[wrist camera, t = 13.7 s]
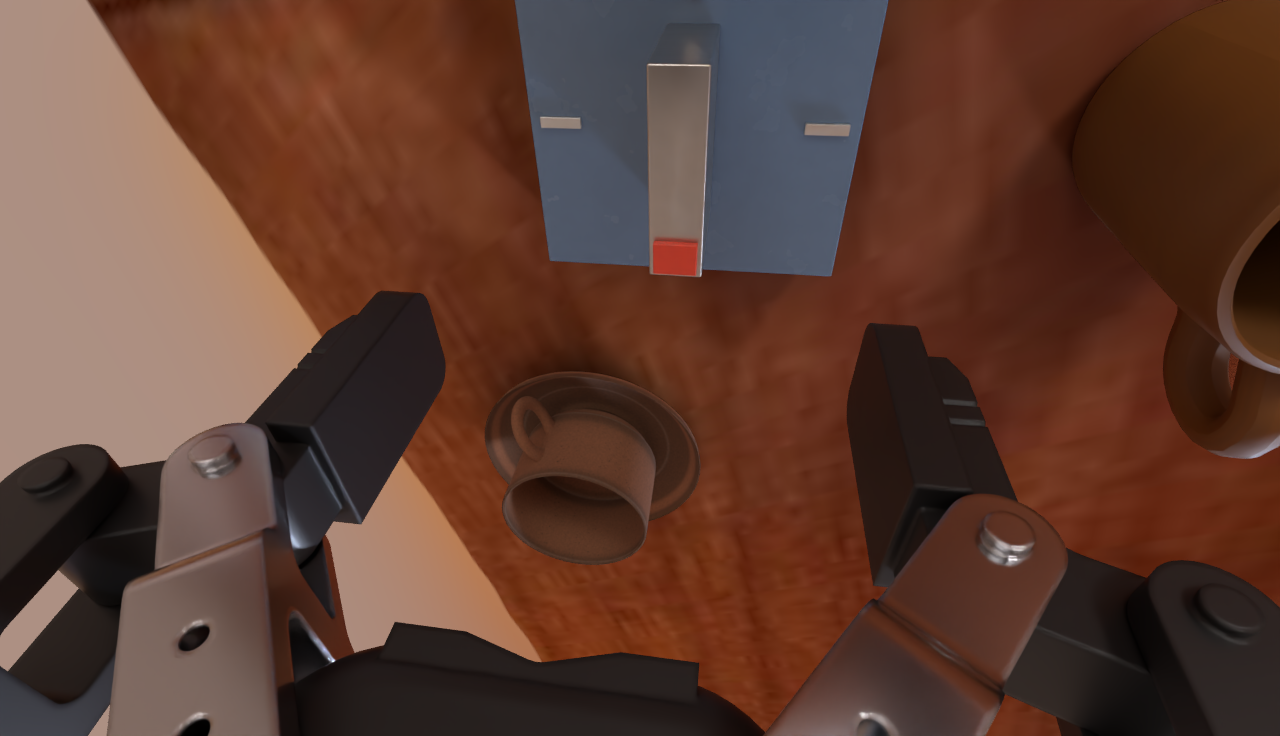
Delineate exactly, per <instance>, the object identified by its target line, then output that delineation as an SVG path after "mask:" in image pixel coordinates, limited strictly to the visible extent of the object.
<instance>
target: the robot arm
mask: <svg viewBox="0 0 1280 736" xmlns="http://www.w3.org/2000/svg"><path fill="white" fill-rule="evenodd" d="M311 350H312V352H311V353H307V355H306V356H305V357H304V358H303V359H302V360H301V361H300V362H299V363H298V368H297V369H296V368H294V369H293V370H292V371H291V372H290V373H289V375H288V376H287V377H286V378H285V379H284V380H283V381H282V382H281V383H280V385H279V386H278V387H277V388H276V389H275V390H274V391H273V392H272V393H271V395H270V396H269V397H268V398H267V399H266V400H265V401H264V402H263V403H262V405H261V406H260V407H259V408H258V409H257V410H256V411H255V412H254V414H253V415H252V416H251V417H250V418H249V419H248V420H247V421H246V422H245V423H231V424H225V425H221V426H218V427H214V428H211V429H209V430H206V431H204V432H202V433H200V434H198V435H196V436H194V437H192V438H190V439H189V440H187V441H186V442H185V443H183V444H182V445H181V446H179V447H178V448H177V449H176V450H175V451H174V452H173V453H172V454H171V455H170V456H169V458H168V459H167V460H166V461H160V462H153V463H146V464H140V465H134V466H127V467H119V466H118V465H117V463H116V462H115V461H114V460H113V459H112V458H111V456H110V455H109V454H108V453H107V452H106V450H104V449H103V448H101V447H99V446H96V445H89V444H80V445H72V446H68V447H63V448H60V449H57V450H53V451H51V452H49V453H46V454H43V455H41V456H39V457H37V458H35V459H33V460H31V461H29V462H27V463H26V464H24V465H23V466H21V467H19V468H18V469H17V470H15V471H14V472H13V473H11V474H10V475H9V476H7V477H6V478H5V479H4V480H3V481H2V482H1V483H0V635H1V633H2V632H3V631H4V629H5V628H6V627H7V625H8V624H9V623H10V622H11V621H12V620H13V619H14V618H15V617H16V615H17V614H18V613H19V612H20V611H21V610H22V609H23V608H24V607H25V606H26V605H27V603H28V602H29V601H30V600H31V599H32V598H33V597H34V596H35V595H36V594H37V593H38V591H39V590H40V589H41V588H42V587H43V586H44V585H45V584H46V582H48V580H49V579H50V578H51V577H52V576H53V575H54V574H55V573H56V571H57V570H59V571H60V572H61V573H62V574H64V575H65V576H66V577H67V578H68V579H69V580H70V581H71V582H73V583H74V584H75V585H76V586H77V587H78V588H79V589H78V590H77V591H76V593H75V594H74V595H73V596H72V597H71V598H70V600H69V601H68V602H67V603H66V604H65V605H64V607H63V608H62V609H61V610H60V611H59V612H58V614H57V615H56V616H55V617H54V618H53V619H52V621H51V622H50V623H49V624H48V625H47V626H46V628H45V629H44V630H43V631H42V632H41V633H40V635H39V636H38V637H37V638H36V639H35V641H34V642H33V643H32V644H31V645H30V646H29V647H28V649H27V650H26V651H25V652H24V653H23V654H22V656H21V657H20V658H19V659H18V660H17V662H16V663H15V664H14V665H13V666H12V667H11V668H10V670H9V671H6V670H5V669H3V668H2V667H1V666H0V736H88V735H89V733H90V732H91V730H92V729H93V728H94V726H95V725H96V723H97V722H98V720H99V719H100V718H101V716H102V715H103V713H104V712H105V710H106V709H107V708H108V706H109V705H110V711H109V721H108V729H107V736H985V735H986V733H987V731H988V729H989V727H990V725H991V724H992V722H993V720H994V718H995V716H996V714H997V712H998V710H999V708H1000V706H1001V704H1002V701H1003V699H1004V696H1005V694H1006V695H1008V696H1011V697H1013V698H1015V699H1017V700H1020V701H1022V702H1024V703H1026V704H1029V705H1031V706H1033V707H1036V708H1038V709H1040V710H1042V711H1045V712H1047V713H1049V714H1051V715H1054V716H1056V718H1057V722H1058V725H1059V728H1060V732H1061V735H1062V736H1280V608H1279V607H1278V606H1277V605H1276V604H1275V603H1274V602H1273V601H1272V600H1271V599H1270V598H1268V597H1267V596H1266V595H1265V594H1263V593H1262V592H1261V591H1259V590H1258V589H1257V588H1255V587H1254V586H1252V585H1251V584H1249V583H1247V582H1246V581H1244V580H1243V579H1241V578H1239V577H1237V576H1235V575H1233V574H1231V573H1229V572H1227V571H1224V570H1222V569H1220V568H1217V567H1214V566H1211V565H1208V564H1204V563H1199V562H1194V561H1184V560H1180V561H1171V562H1167V563H1164V564H1162V565H1160V566H1158V567H1157V568H1156V569H1155V570H1154V571H1153V572H1152V573H1151V574H1150V575H1149V576H1148V577H1147V578H1145V577H1142V576H1139V575H1136V574H1134V573H1131V572H1128V571H1125V570H1122V569H1119V568H1116V567H1114V566H1111V565H1108V564H1105V563H1102V562H1099V561H1096V560H1094V559H1091V558H1088V557H1085V556H1083V555H1080V554H1078V553H1075V552H1073V551H1071V550H1070V549H1068V548H1066V547H1065V544H1064V542H1063V540H1062V539H1061V537H1060V535H1059V534H1058V532H1057V531H1056V530H1055V529H1054V527H1053V526H1052V525H1051V524H1050V523H1049V522H1048V521H1047V520H1046V519H1045V518H1043V517H1042V516H1041V515H1039V514H1038V513H1037V512H1035V511H1034V510H1032V509H1031V508H1029V507H1027V506H1026V505H1024V504H1021V503H1019V502H1018V501H1017V498H1016V496H1015V493H1014V491H1013V488H1012V486H1011V483H1010V481H1009V479H1008V476H1007V474H1006V471H1005V469H1004V466H1003V464H1002V461H1001V459H1000V456H999V454H998V451H997V449H996V447H995V444H994V442H993V439H992V437H991V434H990V432H989V429H988V427H985V419H984V417H983V415H982V412H981V410H980V407H977V403H978V402H977V400H976V397H975V395H974V392H973V390H972V388H971V385H970V383H969V380H968V379H967V378H966V377H965V376H964V375H963V374H962V373H961V372H960V371H959V370H958V369H957V368H956V367H955V366H954V365H953V364H952V363H951V362H950V361H949V360H948V359H947V358H942V357H928V355H927V352H926V349H925V347H924V344H923V341H922V338H921V335H920V332H919V330H918V328H917V327H916V326H907V325H892V324H876V323H870V324H869V325H868V326H867V328H866V330H865V333H864V337H863V340H862V344H861V348H860V352H859V356H858V359H857V363H856V367H855V371H854V374H853V378H852V382H851V386H850V390H849V395H848V402H847V425H848V432H849V438H850V444H851V450H852V456H853V463H854V469H855V475H856V481H857V487H858V493H859V500H860V506H861V512H862V518H863V524H864V531H865V537H866V543H867V549H868V555H869V562H870V568H871V574H872V580H873V585H874V586H882V587H888V588H887V589H886V591H885V592H884V593H883V594H882V596H881V597H880V598H879V599H878V600H875V599H872V600H870V601H869V602H868V603H867V604H866V605H865V606H864V607H863V608H862V610H861V611H860V612H859V613H858V615H857V616H856V617H855V618H854V620H853V621H852V622H851V623H850V625H849V626H848V627H847V629H846V630H845V631H844V632H843V634H842V635H841V636H840V638H839V639H838V640H837V641H836V643H835V644H834V645H833V647H832V648H831V649H830V650H829V652H828V653H827V654H826V656H825V657H824V658H823V659H822V661H821V662H820V663H819V665H818V666H817V667H816V668H815V670H814V671H813V672H812V673H811V675H810V676H809V677H808V679H807V680H806V681H805V682H804V684H803V685H802V686H801V688H800V689H799V690H798V691H797V693H796V694H795V695H794V697H793V698H792V699H791V700H790V702H789V703H788V704H787V706H786V707H785V708H784V709H783V711H782V712H781V713H780V715H779V716H778V717H777V718H776V720H775V721H774V722H773V724H772V725H771V726H770V727H769V729H768V730H767V731H766V733H765V732H764V731H763V730H762V729H761V728H760V727H759V726H758V725H757V724H756V723H755V722H754V721H753V720H752V719H751V718H750V717H749V716H748V715H746V714H745V713H744V712H742V711H741V710H740V709H738V708H737V707H736V706H735V705H733V704H732V703H730V702H729V701H727V700H725V699H724V698H722V697H720V696H719V695H717V694H715V693H713V692H711V691H709V690H707V689H704V688H702V687H700V686H698V673H699V663H695V662H688V661H681V660H673V659H666V658H658V657H651V656H643V655H636V654H629V653H621V652H620V653H613V654H605V655H597V656H589V657H581V658H574V659H566V660H558V661H550V662H534V661H531V660H528V659H526V658H524V657H522V656H519V655H517V654H515V653H512V652H510V651H508V650H506V649H504V648H501V647H499V646H497V645H495V644H492V643H490V642H488V641H486V640H484V639H481V638H479V637H477V636H475V635H473V634H470V633H468V632H465V631H458V630H450V629H443V628H436V627H428V626H421V625H414V624H406V623H398V622H395V623H394V625H393V627H392V629H391V632H390V634H389V636H388V638H387V640H386V642H385V645H384V646H379V647H375V648H371V649H367V650H363V651H359V652H356V653H354V651H353V648H352V646H351V643H350V641H349V637H348V635H347V630H346V626H345V621H344V615H343V610H342V605H341V600H340V594H339V589H338V583H337V579H336V573H335V567H334V562H333V557H332V552H331V547H330V543H329V541H328V539H327V537H326V535H325V534H326V532H327V531H328V529H329V527H330V526H331V524H332V523H333V521H336V522H344V523H353V524H362V522H363V520H364V519H365V517H366V515H367V513H368V512H369V510H370V508H371V507H372V505H373V503H374V502H375V500H376V498H377V496H378V495H379V493H380V491H381V490H382V488H383V486H384V485H385V483H386V481H387V479H388V478H389V476H390V474H391V472H392V471H393V469H394V468H395V466H396V464H397V463H398V461H399V459H400V457H401V456H402V454H403V452H404V451H405V449H406V447H407V446H408V444H409V442H410V441H411V439H412V437H413V435H414V434H415V432H416V430H417V429H418V427H419V425H420V424H421V422H422V420H423V419H424V417H425V415H426V413H427V412H428V410H429V408H430V407H431V405H432V403H433V402H434V400H435V398H436V397H437V395H438V393H439V391H440V390H441V388H442V385H443V382H444V377H445V358H444V354H443V351H442V347H441V344H440V340H439V337H438V333H437V330H436V326H435V323H434V319H433V316H432V313H431V309H430V306H429V303H428V300H427V299H426V297H425V296H424V295H423V294H421V293H410V292H395V291H380V292H378V293H376V294H375V295H374V297H373V298H372V299H371V300H370V301H369V302H368V304H367V305H366V306H365V307H364V308H363V309H362V310H361V312H360V313H359V314H358V315H352V316H351V317H349V318H348V319H346V320H344V321H343V322H341V323H339V324H338V325H336V326H335V327H333V328H331V329H330V330H328V331H327V332H326V333H325V335H324V336H323V337H322V338H321V339H320V340H319V341H318V342H317V343H316V345H315V346H314V347H313V348H312V349H311Z"/></svg>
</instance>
